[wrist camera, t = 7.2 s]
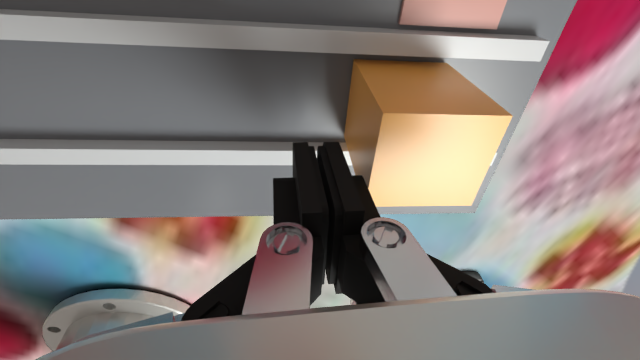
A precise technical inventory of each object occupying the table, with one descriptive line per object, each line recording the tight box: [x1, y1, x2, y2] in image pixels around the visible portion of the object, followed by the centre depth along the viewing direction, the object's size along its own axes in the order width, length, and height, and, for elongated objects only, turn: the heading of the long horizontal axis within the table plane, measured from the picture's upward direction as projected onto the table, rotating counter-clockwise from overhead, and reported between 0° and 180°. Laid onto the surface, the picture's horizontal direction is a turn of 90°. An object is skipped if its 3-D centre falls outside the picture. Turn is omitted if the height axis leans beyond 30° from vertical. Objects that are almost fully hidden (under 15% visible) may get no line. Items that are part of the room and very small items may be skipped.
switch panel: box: [0, 0, 577, 219], centre depth 14 cm, size 14×30×3 cm, turn 86°
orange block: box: [344, 59, 513, 207], centre depth 13 cm, size 4×4×5 cm
